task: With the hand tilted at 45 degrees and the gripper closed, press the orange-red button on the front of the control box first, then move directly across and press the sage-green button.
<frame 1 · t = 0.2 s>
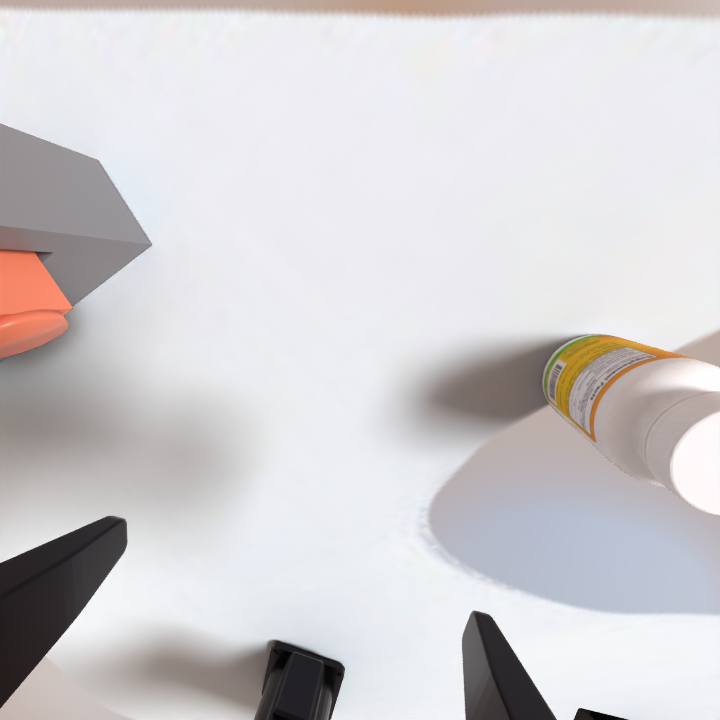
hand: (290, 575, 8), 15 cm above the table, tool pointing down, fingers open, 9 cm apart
supplement bottle: (586, 376, 20), on the table
control box: (53, 321, 25), on the table
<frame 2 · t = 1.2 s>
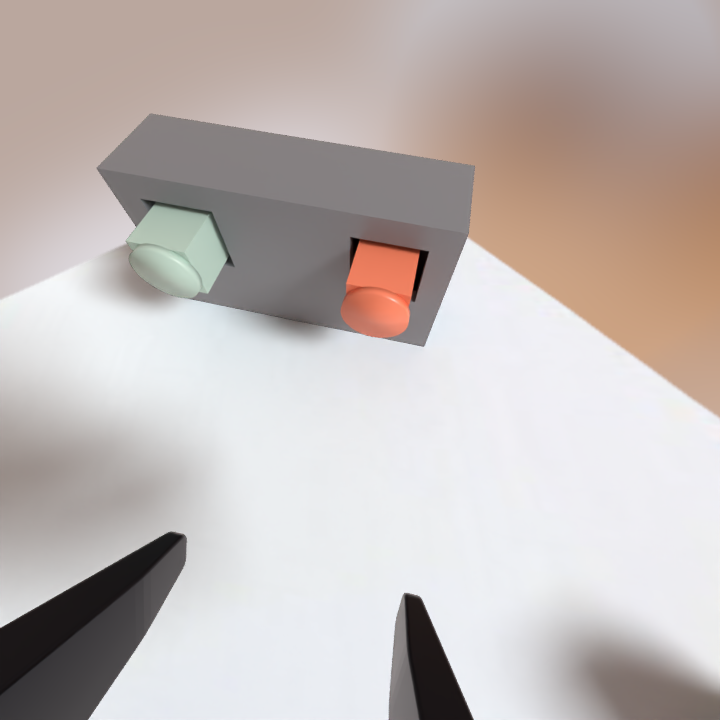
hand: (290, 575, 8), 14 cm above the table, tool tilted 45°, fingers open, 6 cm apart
button red: (381, 288, 20), point 8 cm above the table, slide at 0.0 cm
button green: (182, 249, 21), point 8 cm above the table, slide at 0.0 cm
control box: (300, 321, 28), on the table
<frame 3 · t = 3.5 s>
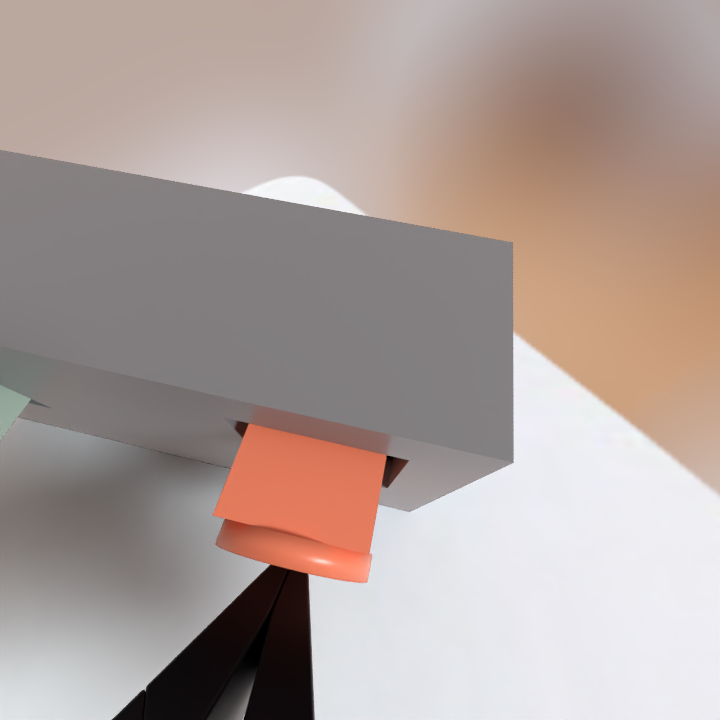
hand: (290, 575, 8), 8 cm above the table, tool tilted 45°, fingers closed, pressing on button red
button red: (316, 472, 10), point 8 cm above the table, slide at 0.9 cm, touching gripper
control box: (207, 462, 17), on the table
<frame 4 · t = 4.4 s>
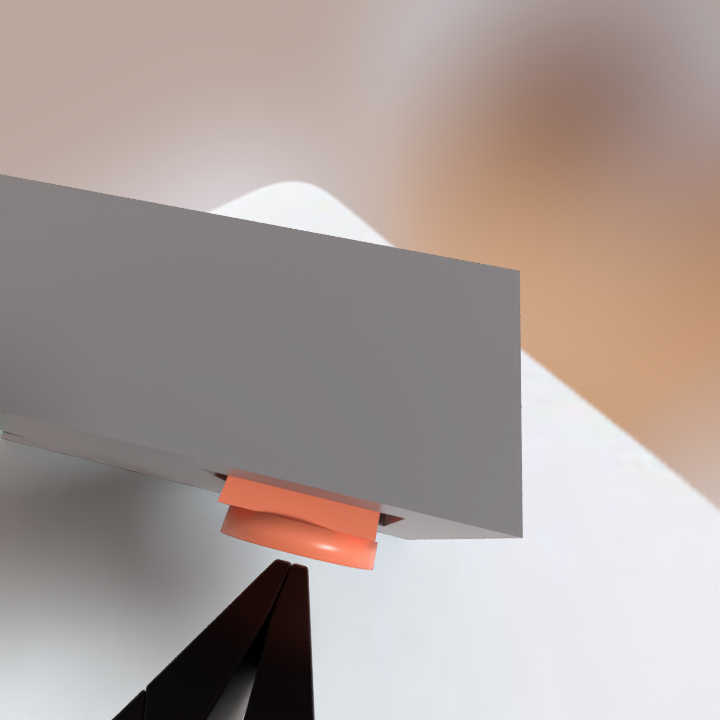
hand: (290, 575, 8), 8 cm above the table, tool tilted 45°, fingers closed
button red: (321, 461, 10), point 8 cm above the table, slide at 2.5 cm
control box: (196, 486, 16), on the table
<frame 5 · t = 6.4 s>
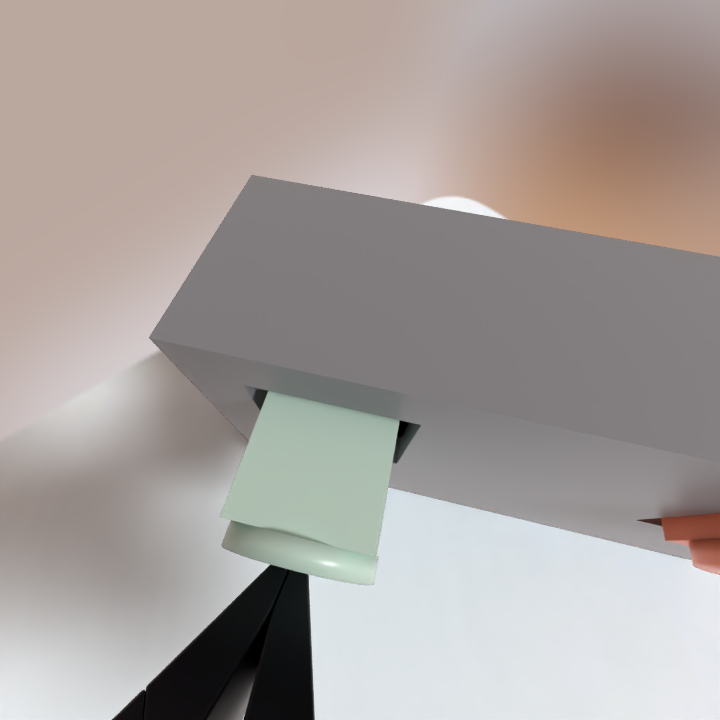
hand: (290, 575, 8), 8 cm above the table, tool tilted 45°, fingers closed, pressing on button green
button green: (322, 473, 10), point 8 cm above the table, slide at 0.0 cm, touching gripper
control box: (466, 505, 17), on the table
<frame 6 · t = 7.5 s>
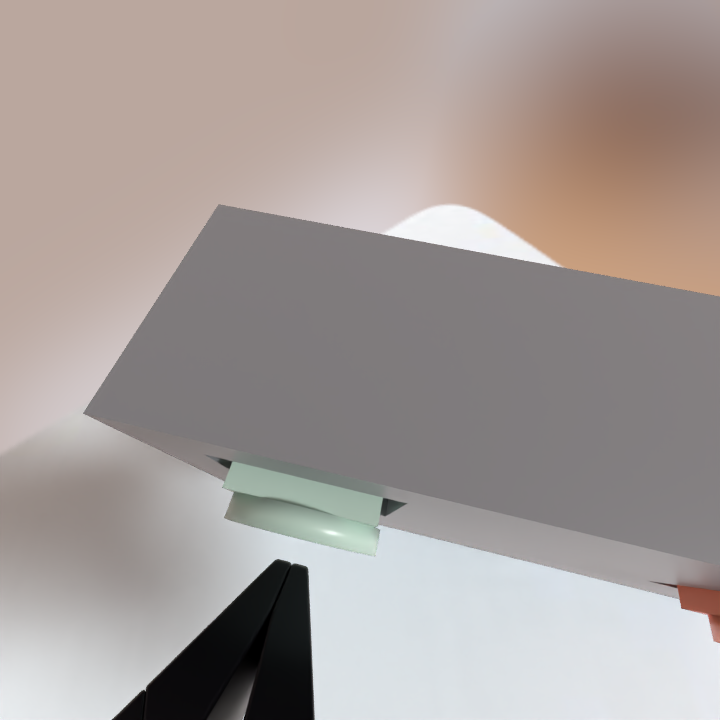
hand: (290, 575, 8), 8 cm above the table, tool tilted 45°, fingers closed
button green: (324, 450, 10), point 8 cm above the table, slide at 2.5 cm
control box: (462, 545, 16), on the table
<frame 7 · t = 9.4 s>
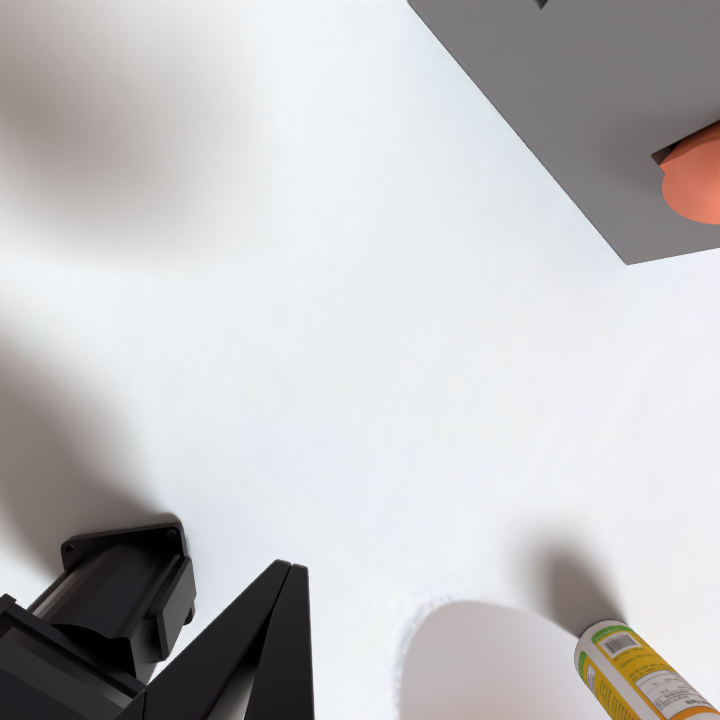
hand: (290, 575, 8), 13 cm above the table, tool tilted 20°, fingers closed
supplement bottle: (600, 646, 26), on the table
control box: (527, 145, 21), on the table
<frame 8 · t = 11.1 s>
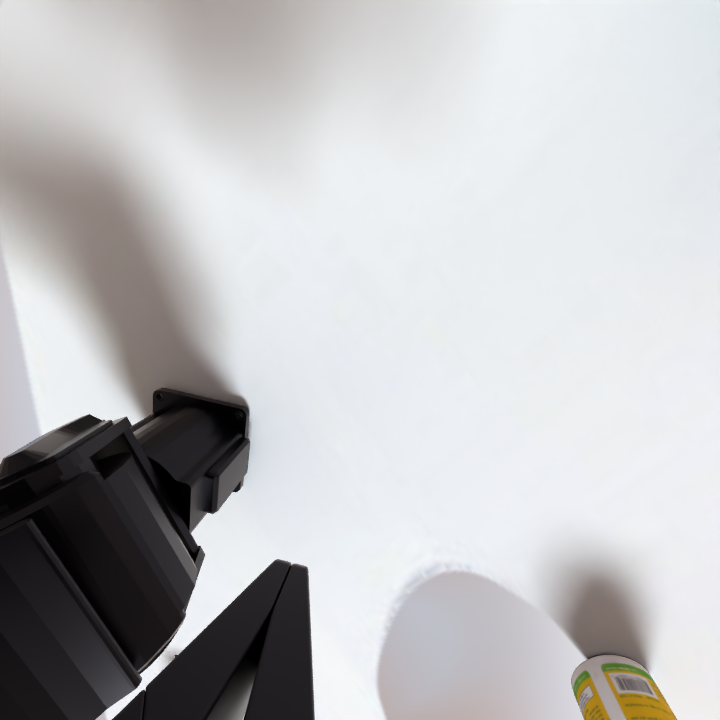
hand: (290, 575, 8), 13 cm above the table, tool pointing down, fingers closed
supplement bottle: (607, 675, 25), on the table
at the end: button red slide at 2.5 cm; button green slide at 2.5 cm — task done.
